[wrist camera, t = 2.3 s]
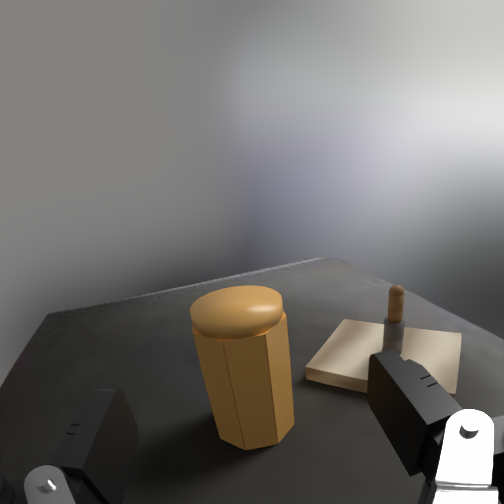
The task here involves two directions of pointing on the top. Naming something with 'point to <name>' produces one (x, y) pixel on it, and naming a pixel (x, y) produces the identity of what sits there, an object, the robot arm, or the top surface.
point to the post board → (369, 341)
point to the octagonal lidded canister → (245, 363)
